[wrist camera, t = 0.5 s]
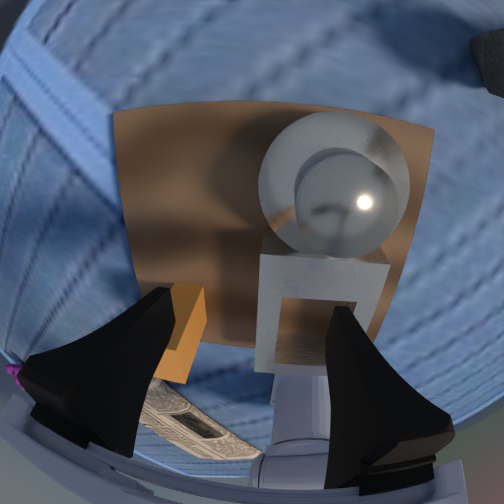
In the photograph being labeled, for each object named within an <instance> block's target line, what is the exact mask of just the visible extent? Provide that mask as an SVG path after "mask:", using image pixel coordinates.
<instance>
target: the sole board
mask: <svg viewBox="0 0 504 504" xmlns="http://www.w3.org/2000/svg"><path fill="white" fill-rule="evenodd" d="M323 111H341V112H349V113H353V114H357V115H360V116H362V117H365V118H367V119H369V120H371V121H373V122H375V123H376V124H378V125H379V126H380V127H382V128H383V129H384V130H385V131H386V132H387V133H388V134H389V135H390V136H391V137H392V138H393V139H394V141H395V142H396V143H397V144H398V146H399V148H400V150H401V151H402V153H403V156H404V158H405V161H406V163H407V167H408V171H409V179H410V192H409V199H408V203H407V207H406V210H405V212H404V215H403V217H402V219H401V221H400V222H399V224H398V226H397V227H396V229H395V230H394V231H393V232H392V234H391V235H390V236H389V237H388V238H387V239H386V240H385V241H384V242H383V243H382V244H381V245H380V246H381V248H382V250H383V252H384V253H385V255H386V257H387V259H388V261H389V262H390V264H391V265H390V268H389V272H388V275H387V278H386V281H385V284H384V287H383V290H382V292H381V295H380V298H379V301H378V304H377V306H376V309H375V312H374V314H373V317H372V319H371V322H370V324H369V327H368V329H367V332H366V334H367V336H368V337H369V338H370V340H371V341H372V343H373V342H374V340H375V338H376V336H377V334H378V331H379V329H380V327H381V325H382V322H383V320H384V317H385V315H386V313H387V310H388V308H389V305H390V303H391V300H392V298H393V295H394V292H395V290H396V287H397V284H398V281H399V279H400V276H401V273H402V270H403V267H404V264H405V261H406V258H407V255H408V251H409V248H410V245H411V241H412V238H413V234H414V231H415V227H416V223H417V220H418V216H419V212H420V208H421V203H422V199H423V194H424V190H425V185H426V180H427V175H428V169H429V163H430V157H431V151H432V144H433V136H434V129H431V128H427V127H424V126H420V125H417V124H413V123H409V122H405V121H401V120H397V119H393V118H388V117H384V116H379V115H374V114H369V113H363V112H358V111H352V110H346V109H339V108H332V107H324V106H315V105H305V104H294V103H279V102H255V101H220V102H196V103H182V104H170V105H160V106H152V107H144V108H137V109H130V110H124V111H118V112H113V123H114V139H115V152H116V162H117V171H118V180H119V188H120V195H121V202H122V208H123V214H124V220H125V226H126V231H127V237H128V242H129V247H130V252H131V256H132V261H133V265H134V270H135V274H136V278H137V282H138V286H139V290H140V294H141V298H143V297H144V296H146V295H147V294H148V293H150V292H151V291H152V290H154V289H155V288H156V287H158V286H159V287H166V288H170V290H171V288H172V287H173V285H174V283H181V284H190V285H198V286H203V289H204V299H205V309H206V318H207V322H206V325H205V328H204V331H203V334H202V337H201V339H200V341H201V342H208V343H215V344H222V345H230V346H238V347H247V348H256V330H257V311H258V290H259V270H260V253H261V247H262V242H263V237H264V231H265V229H272V228H271V227H270V225H269V223H268V222H267V220H266V218H265V216H264V213H263V211H262V207H261V204H260V199H259V190H258V182H259V173H260V169H261V165H262V162H263V160H264V157H265V155H266V152H267V150H268V149H269V147H270V145H271V143H272V142H273V141H274V139H275V138H276V137H277V136H278V134H279V133H280V132H281V131H283V130H284V129H285V128H286V127H287V126H288V125H290V124H291V123H293V122H294V121H296V120H298V119H300V118H302V117H304V116H307V115H310V114H313V113H318V112H323ZM340 303H341V301H333V300H317V299H303V298H289V297H282V300H281V308H280V317H279V325H278V333H287V334H302V335H319V336H326V334H327V331H328V328H329V325H330V321H331V318H332V315H333V311H334V308H335V306H340Z"/></svg>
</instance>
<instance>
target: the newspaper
mask: <svg viewBox="0 0 504 504" xmlns="http://www.w3.org/2000/svg"><path fill="white" fill-rule="evenodd" d="M139 422H140V423H142V424H143V425H145V426H146V427H148V428H149V429H151V430H152V431H154V432H155V433H157V434H158V435H160V436H162V437H163V438H165V439H166V440H168V441H170V442H171V443H173V444H175V445H177V446H178V447H180V448H182V449H184V450H185V451H187V452H189V453H191V454H193V455H195V456H196V457H198V458H207V459H217V460H231V459H249V458H255V457H257V456H258V455H259V454H261V452H260V451H259V450H258V449H256V448H254V447H253V446H251V445H249V444H248V443H246V442H245V441H243V440H241V439H240V438H238V437H237V436H235V435H234V434H232V433H231V432H229V431H228V430H226V429H225V428H223V427H222V426H221V425H219V424H218V423H216V422H215V421H213V420H212V419H211V418H209V417H208V416H207V415H205V414H204V413H203V412H201V411H200V410H199V409H197V408H196V407H195V406H193V405H192V404H191V403H189V402H188V401H187V400H186V399H184V398H183V397H182V396H181V395H179V394H178V393H177V392H176V391H175V390H173V389H172V388H171V387H170V386H169V385H167V384H166V383H165V382H164V381H163V380H162V379H159V378H155V377H154V375H153V378H152V380H151V383H150V385H149V388H148V391H147V395H146V398H145V401H144V405H143V408H142V412H141V416H140V420H139Z"/></svg>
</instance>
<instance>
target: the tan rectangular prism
mask: <svg viewBox="0 0 504 504" xmlns="http://www.w3.org/2000/svg"><path fill="white" fill-rule="evenodd" d="M170 291H171V297H172V302H173V308H174V314H175V319H176V323H175V326H174V329H173V333H172V336H171V339H170V341H169V343H168V346H167V348H166V350H165V352H164V354H163V356H162V358H161V360H160V363H159V365H158V367H157V369H156V371H155V373H154V377H155V378H159V379H164V380H168V381H173V382H177V383H182V384H185V383H186V380H187V377H188V374H189V372H190V369H191V366H192V363H193V360H194V357H195V354H196V351H197V348H198V345H199V342H200V339H201V337H202V334H203V331H204V328H205V325H206V322H207V318H206V309H205V299H204V289H203V286H198V285H190V284H181V283H174V285H173V287H172V288H171V290H170Z"/></svg>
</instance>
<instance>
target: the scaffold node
mask: <svg viewBox="0 0 504 504" xmlns="http://www.w3.org/2000/svg"><path fill="white" fill-rule="evenodd" d="M258 190H259V199H260V204H261V207H262V211H263V213H264V216H265V218H266V220H267V222H268V223H269V225H270V227H271V228H272V229H265V231H264V237H263V242H262V247H261V253H260V270H259V290H258V311H257V330H256V349H255V367H254V372H262V373H273V374H286V375H303V376H327V369H326V361H325V337H326V336H319V335H302V334H287V333H278V325H279V317H280V308H281V300H282V297H289V298H303V299H317V300H333V301H341V303H340V306H345V307H349V308H350V310H351V311H352V313H353V314H354V316H355V317H356V319H357V320H358V322H359V324H360V325H361V327H362V328H363V330H364V331H365V333H366V332H367V329H368V327H369V324H370V322H371V319H372V317H373V314H374V312H375V309H376V306H377V304H378V301H379V298H380V295H381V292H382V290H383V287H384V284H385V281H386V278H387V275H388V272H389V268H390V265H391V264H390V262H389V261H388V259H387V257H386V255H385V253H384V252H383V250H382V248H381V246H380V245H381V244H382V243H383V242H384V241H385V240H386V239H387V238H388V237H389V236H390V235H391V234H392V232H393V231H394V230H395V229H396V227H397V226H398V224H399V222H400V221H401V219H402V217H403V215H404V212H405V210H406V207H407V203H408V199H409V192H410V179H409V171H408V167H407V163H406V161H405V158H404V156H403V153H402V151H401V150H400V148H399V146H398V144H397V143H396V142H395V141H394V139H393V138H392V137H391V136H390V135H389V134H388V133H387V132H386V131H385V130H384V129H383V128H382V127H380V126H379V125H378V124H376V123H375V122H373V121H371V120H369V119H367V118H365V117H362V116H360V115H357V114H353V113H349V112H341V111H323V112H318V113H313V114H310V115H307V116H304V117H302V118H300V119H298V120H296V121H294V122H293V123H291V124H290V125H288V126H287V127H286V128H285V129H284V130H283V131H281V132H280V133H279V134H278V136H277V137H276V138H275V139H274V141H273V142H272V143H271V145H270V147H269V149H268V150H267V152H266V155H265V157H264V160H263V162H262V165H261V169H260V173H259V182H258Z"/></svg>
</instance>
